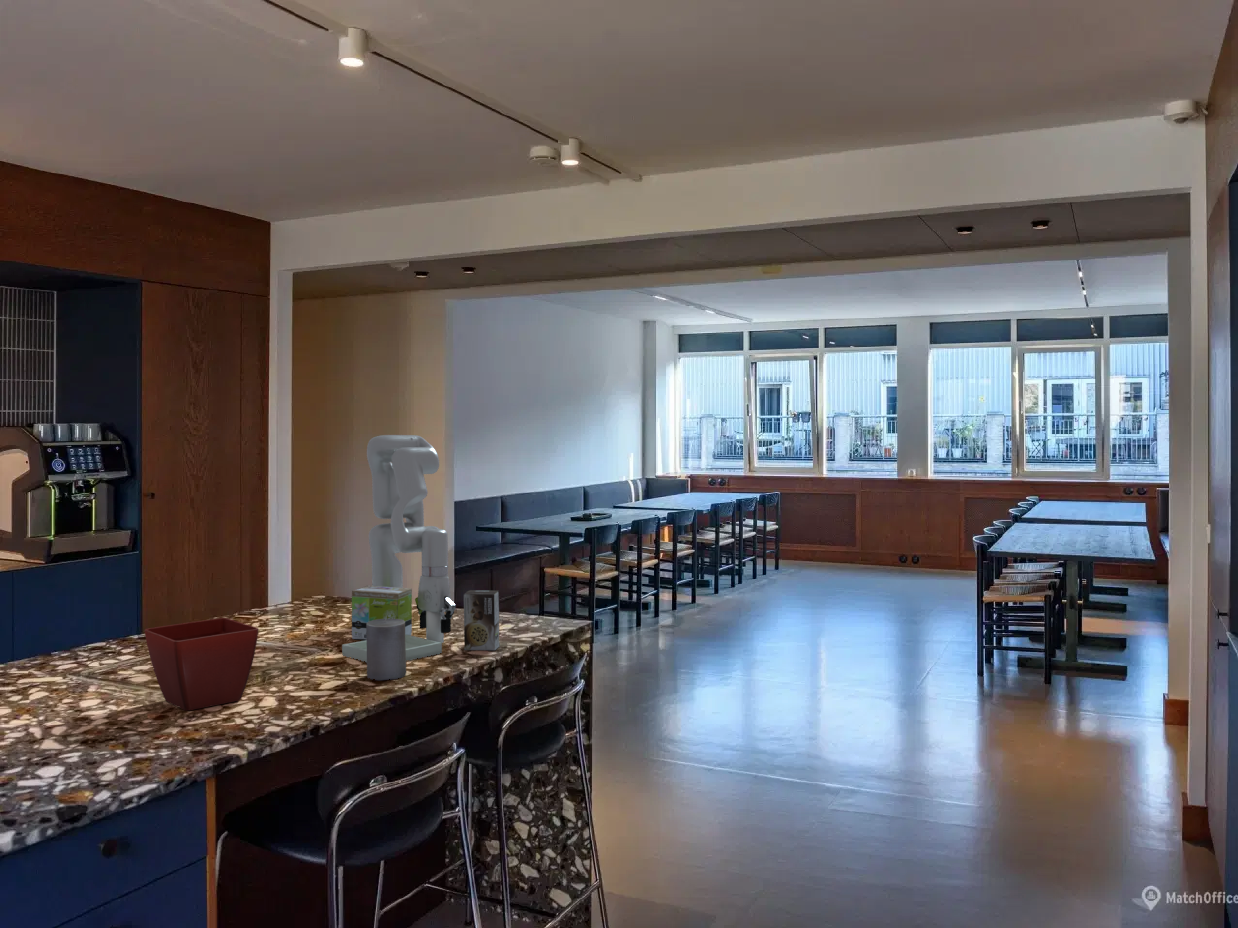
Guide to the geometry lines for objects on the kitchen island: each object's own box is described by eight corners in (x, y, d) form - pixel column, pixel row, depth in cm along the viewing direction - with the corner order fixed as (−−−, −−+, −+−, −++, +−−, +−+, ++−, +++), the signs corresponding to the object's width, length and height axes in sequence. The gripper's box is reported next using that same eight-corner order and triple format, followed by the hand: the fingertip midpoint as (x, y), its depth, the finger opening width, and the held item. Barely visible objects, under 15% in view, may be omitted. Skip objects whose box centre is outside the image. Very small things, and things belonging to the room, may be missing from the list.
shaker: (421, 642, 295) (421, 602, 295) (436, 639, 299) (436, 600, 299) (433, 644, 292) (433, 605, 291) (448, 641, 296) (448, 602, 295)
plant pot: (143, 700, 233) (142, 627, 232) (225, 685, 246) (225, 616, 245) (176, 718, 219) (175, 641, 218) (261, 701, 232) (260, 628, 232)
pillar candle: (384, 669, 263) (383, 611, 262) (414, 673, 258) (413, 615, 257) (358, 678, 254) (357, 618, 253) (388, 682, 250) (387, 622, 249)
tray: (342, 655, 278) (342, 644, 277) (402, 643, 293) (402, 633, 293) (381, 666, 266) (381, 654, 266) (441, 653, 281) (441, 642, 281)
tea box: (350, 640, 298) (350, 590, 297) (367, 633, 307) (366, 584, 307) (397, 643, 294) (397, 592, 293) (412, 635, 304) (412, 586, 303)
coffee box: (500, 645, 291) (500, 590, 290) (495, 650, 284) (495, 593, 284) (468, 645, 292) (468, 589, 291) (463, 650, 285) (463, 593, 284)
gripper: (406, 570, 297) (406, 628, 298) (443, 576, 286) (443, 636, 287) (426, 567, 303) (426, 624, 304) (464, 573, 292) (464, 632, 292)
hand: (435, 630), depth 295 cm, fingers open, 9 cm apart
